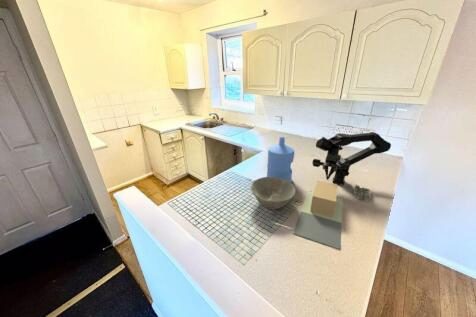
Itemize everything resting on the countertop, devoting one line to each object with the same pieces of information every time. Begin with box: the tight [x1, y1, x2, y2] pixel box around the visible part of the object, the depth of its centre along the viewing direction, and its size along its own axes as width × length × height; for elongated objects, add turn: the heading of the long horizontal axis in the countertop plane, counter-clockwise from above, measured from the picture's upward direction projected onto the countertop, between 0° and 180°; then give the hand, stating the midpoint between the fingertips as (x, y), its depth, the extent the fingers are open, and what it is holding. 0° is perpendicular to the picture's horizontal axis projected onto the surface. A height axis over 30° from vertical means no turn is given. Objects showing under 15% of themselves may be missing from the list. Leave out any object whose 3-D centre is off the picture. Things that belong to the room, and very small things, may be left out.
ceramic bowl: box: [250, 176, 296, 210], centre depth 100 cm, size 22×23×10 cm
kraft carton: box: [310, 180, 339, 217], centre depth 98 cm, size 16×10×9 cm, turn 152°
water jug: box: [266, 136, 295, 183], centre depth 119 cm, size 16×16×28 cm
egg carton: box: [353, 184, 371, 202], centre depth 107 cm, size 11×8×4 cm
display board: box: [292, 190, 344, 251], centre depth 93 cm, size 36×18×1 cm, turn 152°
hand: (327, 179), depth 107 cm, fingers closed
